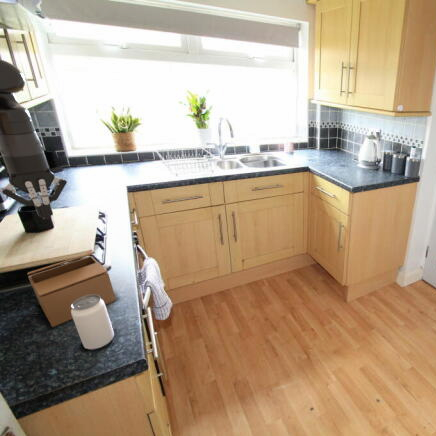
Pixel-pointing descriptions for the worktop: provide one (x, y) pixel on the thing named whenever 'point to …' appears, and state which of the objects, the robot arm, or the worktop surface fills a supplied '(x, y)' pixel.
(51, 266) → the flap
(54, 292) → the carton
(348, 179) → the worktop surface
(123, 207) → the worktop surface
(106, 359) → the worktop surface
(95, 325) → the can
